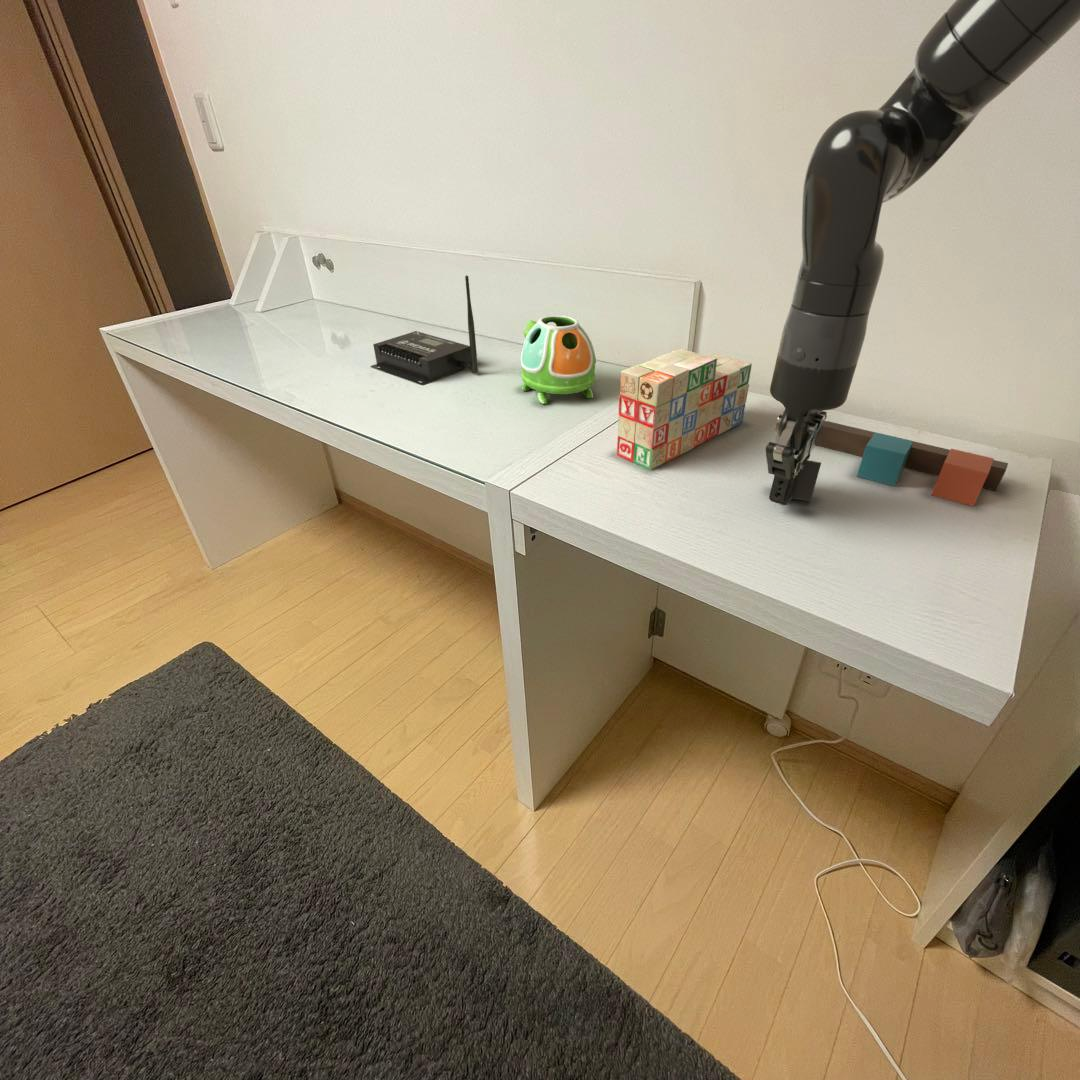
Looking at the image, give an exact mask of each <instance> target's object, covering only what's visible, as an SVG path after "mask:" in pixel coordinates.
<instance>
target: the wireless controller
mask: <svg viewBox="0 0 1080 1080" xmlns="http://www.w3.org/2000/svg"><path fill="white" fill-rule="evenodd" d="M469 278H470V277H469V276H468V275H467V274H466V275H465V276H464V279H465V280H464V281H465V290H466V292H465V293H466V301H467V302H466V304H467V309H466V311H467V331H468V341H469V345H467V344H464V343H460V342H457V341H453V340H450V339H447V338H442V337H439V336H435V335H431V334H428V333H424V332H421V331H417V330H415V331H411V332H408V333H405V334H401V335H399V336H396V337H391V338H389V339H385V340H383V341H380V342H376V343H373V351H374V355H375V362H376V363H375V364H372V365H370V366H369V367H370V368H372V369H375V370H377V371H380V372H383V373H387V374H389V375H393V376H395V377H398V378H400V379H403V380H406V381H409V382H411V383H415V384H417V385H421V386H425V385H427V384H431V383H433V382H435V381H438V380H441V379H443V378H447V377H448V376H451V375H454V374H457V373H459V372H461V371H465V370H469V371H471V372H472V374H478V373H479V363H478V352H477V343H476V341H477V340H476V329H475V321H474V315H473V307H472V302H471V301H472V300H471V291H470V290H471V288H470V280H469Z"/></svg>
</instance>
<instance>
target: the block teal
mask: <svg viewBox="0 0 1080 1080" xmlns="http://www.w3.org/2000/svg"><path fill="white" fill-rule="evenodd" d="M874 432H875V434H874V435H873V437H872V438H871V439H870V441H869V442H868V444H867V445H866V448H865V451H864V454H863V457H861V460H860V464H859V466H858V471H857V474H856V477H857V478H862V479H865V480H869V481H873V482H877V483H879V484H884V485H887V486H890V487H895V486H896V484H897V483H898V481H899V480H900V477H901V475H902V474H903V472H904V469H905V468H904V466H905V464H906V461H907V458H908V456H909V453H910V450H911V447H912V445H913V442H914V440H911V439H907V438H903V437H899V436H893V435H890V434H884V433H880V432H877V431H874Z"/></svg>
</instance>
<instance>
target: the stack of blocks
mask: <svg viewBox="0 0 1080 1080" xmlns="http://www.w3.org/2000/svg"><path fill="white" fill-rule="evenodd" d="M752 365H753V364H752V363H751V362H748V361H744V360H740V359H737V358H733V357H728V356H725V355H721V354H717V353H715V354H713V355H711V356H710V355H707V354H703V353H698V352H695V351H691V350H688V349H684V348H677V349H675V350H673V351H670V352H667V353H665V354H663V355H660V356H657V357H655V358H653V359H650V360H648V361H645V362H642V363H640V364H637V365H634V366H631V367H629V368H626V369H622V370H621V372H620V388H619V389H620V390H619V391H620V393H619V397H618V425H617V426H618V428H617V431H618V432H617V441H616V443H617V444H616V455H617V456H618V457H620V458H622V459H625V460H626V461H629V462H630V463H634V464H636V465H638V466H640V467H642V468H645V469H647V470H648V471H651V470H654V469H655V468H657V467H659V466H661V465H664V464H665V463H668V462H670V461H672V460H673V459H676V458H677V457H679V456H681V455H684V454H686V453H687V452H689V451H691V450H693V449H694V448H696V447H698V446H699V445H702V444H703V443H705V442H706V441H709V440H711V439H712V438H714V437H716V436H718V435H721V434H723V433H725V432H727V431H728V430H731V429H732V428H734V427H736V426H738V425H740V424H742V423H743V421H744V416H745V415H744V414H745V410H746V403H747V399H748V394H749V387H750V384H749V383H750V378H751V377H750V376H751V372H752Z"/></svg>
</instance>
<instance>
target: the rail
mask: <svg viewBox="0 0 1080 1080" xmlns="http://www.w3.org/2000/svg"><path fill="white" fill-rule="evenodd" d="M875 432H876V431H871V430H868V429H867V430H866V429H864V428H858V427H854V426H850V425H846V424H841V423H838V422H837V423H836V422H833V421H830V420H829V421H828V420H826V419H825V420H824V423H823V426H822V427H821V429H820V432H819V434H818V437H817V439H816V441H815V444H814V446H818V447H822V448H826V449H830V450H834V451H838V452H842V453H845V454H850V455H852V456H853V455H854V456H858V457H861V458H863V454H864V451H865V448H866V445H867V444H868V442H869V441H870V439H871V438H872V437H873V435H874V434H875ZM913 441H914V440H913ZM950 450H951V449H949V448H945V447H940V446H935V445H931V444H928V443H922V442H920V441H919V442H918V441H914V442H913V445H912V447H911V450H910V453H909V456H908V458H907V461H906V464H905V466H904V469H907V470H908V469H909V470H912V471H916V472H920V473H924V474H928V475H933V476H935V477H939V474H940V472H941V469H942V467H943V464H944V462H945V460H946V458H947V456H948V454H949V452H950ZM1008 465H1009V462H1005V461H1000V460H995V459H994V460H993V462H992V465H991V468H990V471H989V474H988V476H987V478H986V480H985V482H984V485H983V487H982V489H987V490H990V491H995V492H997V490H998V488H999V486H1000V484H1001V482H1002V480H1003V477H1004V475H1005V474H1006V472H1007V469H1008Z"/></svg>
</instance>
